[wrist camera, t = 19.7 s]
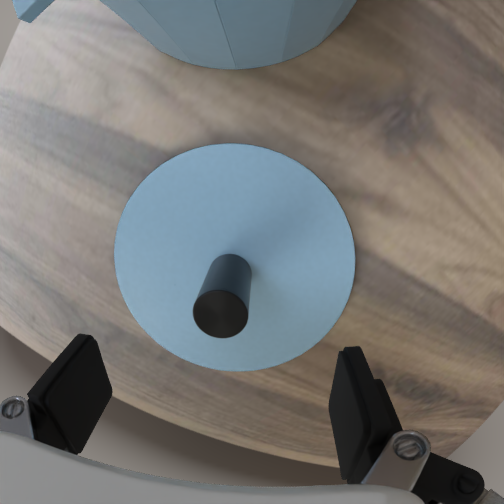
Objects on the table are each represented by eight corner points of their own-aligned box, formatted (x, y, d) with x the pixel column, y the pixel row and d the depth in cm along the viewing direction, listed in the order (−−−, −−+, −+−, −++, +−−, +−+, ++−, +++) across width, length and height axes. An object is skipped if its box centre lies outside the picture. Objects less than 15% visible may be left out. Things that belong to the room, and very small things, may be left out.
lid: (82, 226, 21) (28, 255, 14) (277, 97, 18) (285, 71, 11) (202, 387, 25) (188, 445, 19) (382, 304, 22) (417, 355, 16)
